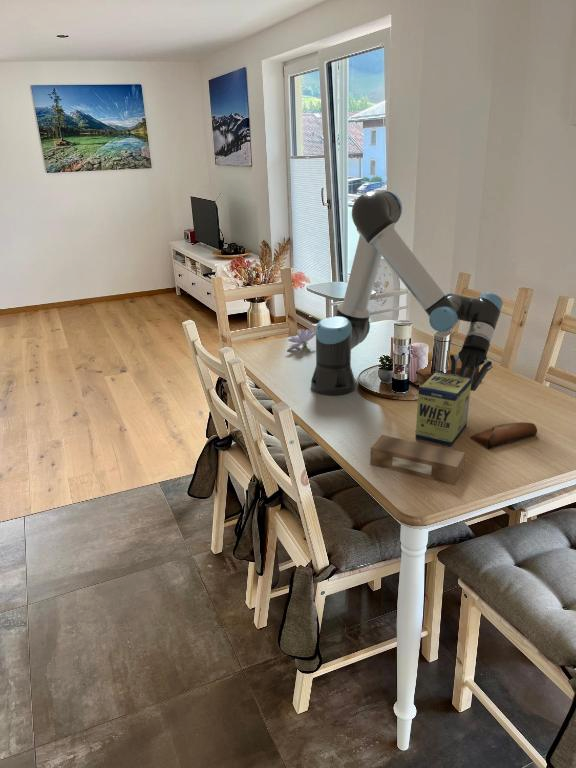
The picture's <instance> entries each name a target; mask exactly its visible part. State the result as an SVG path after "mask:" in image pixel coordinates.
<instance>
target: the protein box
mask: <svg viewBox="0 0 576 768" xmlns="http://www.w3.org/2000/svg"><path fill="white" fill-rule="evenodd" d="M471 381H472V378H471V377H466V376H460V375H455V374H449V373H444V372H438V371H437V372H435V373H434V374H433V375H432V376H431V377H430V378H429V379H428V380H427V381H426V382H425V383H424V384H423V385H422V386H421V387H418V393H417V395H418V396H417V398H418V399H417V413H416V425H415V427H416V428H415V439H416V440H420V441H424V442H428V443H433V444H437V445H440V446H446V447H449V448H451V447H452V446H453V445H454V443H455V442H457V439H459V437H460V435H461V434H462V433H463V431H464V430H465V429H466V427H467V425H468V418H469V407H470V396H471V391H470V390H471ZM472 382H473V381H472Z"/></svg>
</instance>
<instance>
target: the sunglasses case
mask: <svg viewBox="0 0 576 768" xmlns="http://www.w3.org/2000/svg"><path fill="white" fill-rule="evenodd" d="M533 435H534V436H536V435H538V428H537V426H536V424H535V423H533V422H523V421H522V422H511V423H504V424H503V423H502V424H499V425H495V426H492V428H490V429H486V430H483V431H480V432H478V433H475V434H473V435H471V436H470V437H469V438H470V440H472V441H475V442H476V443H477V444H479V445H481V446H483V447H484V448H486V449H487V450H490V449H494V448H497V447H500V446H502V445H504V444H507V443H509V442H510V443H511V442H512V441H513V442H514V441H517V440H519V439H524V438H526V437H531V436H533Z"/></svg>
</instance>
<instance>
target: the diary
mask: <svg viewBox="0 0 576 768" xmlns="http://www.w3.org/2000/svg"><path fill="white" fill-rule="evenodd" d="M432 352H433V351H432ZM432 352H427V353H428V365H427V367H425V368H424V369H420V370H417V371H416V374H417V381H418V382H419V383H420V384H422V385H423V384H424V383H425V382H426V381H427V380H428V379H429V378H430V377H431V376H432V373H431V361H432ZM449 352H450V355H457V354H455V352H454V353H453V352H451V351H449ZM461 366H462V363H461V360H460V358H459V359H458V362H457V371H456V375H459V372H460V369H461ZM469 369H470V367H469V368H468V370H467V371H466V374H465V376H466V377H467V376H468V373H469ZM479 371H480V366H479V367H478V368H477V370H476V372H475V374H474V377H473V380H474V379H475V378H476V376H477V375H478V373H479ZM447 373H449V374H451V359H450V357H449V366H448V370H447Z"/></svg>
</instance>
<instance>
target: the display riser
mask: <svg viewBox="0 0 576 768" xmlns="http://www.w3.org/2000/svg"><path fill="white" fill-rule="evenodd" d="M369 456H370V458H369V459H370V461H369V464H370V465H371V466H375V467H378V468H379V467H380V468H383V469H386V468H387V470H390V471H395V472H399V473H403V474H408V475H411V476H416V477H420V478H424V479H429V480H432V481H436V482H440V483H445V484H449V485H454V486H456V484H457V483H458V481H459V480H460V477H461V475H462V473H463V472H464V468H465V467H464V466H465V457H466V452H464V451H459V450H454V449H450V448H444V447H440V446H436V445H431V444H427V443H421V442H417V441H412V440H408V439H402V438H397V437H394V436H389V435H384V434H381V435H380V436H379V437H378V438H377V439H376V441H375V442H374V443H373V444H372V445H371V447H370V455H369Z"/></svg>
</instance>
